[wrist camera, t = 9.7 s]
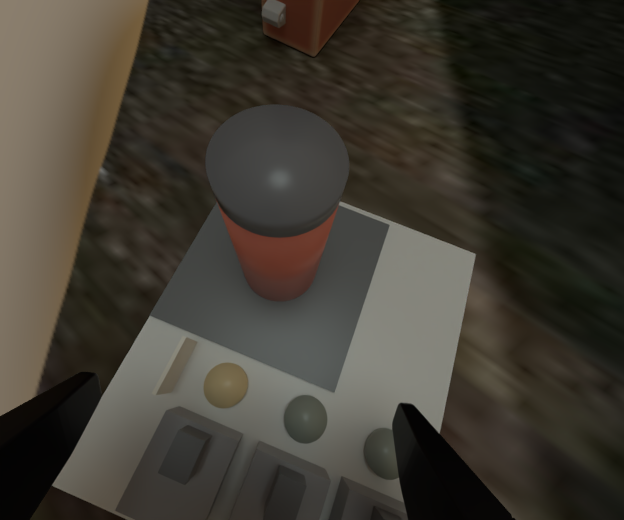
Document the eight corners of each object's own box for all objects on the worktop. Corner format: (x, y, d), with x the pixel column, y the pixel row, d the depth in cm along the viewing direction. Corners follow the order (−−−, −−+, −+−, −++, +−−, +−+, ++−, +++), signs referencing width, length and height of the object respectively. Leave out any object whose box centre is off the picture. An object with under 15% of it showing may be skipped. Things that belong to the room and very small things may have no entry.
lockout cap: (322, 295, 18) (363, 214, 9) (247, 306, 18) (209, 230, 9) (309, 229, 20) (334, 101, 11) (240, 237, 19) (201, 108, 10)
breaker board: (388, 621, 15) (432, 721, 11) (66, 476, 16) (-15, 515, 11) (465, 260, 22) (510, 232, 18) (242, 173, 23) (233, 126, 18)
